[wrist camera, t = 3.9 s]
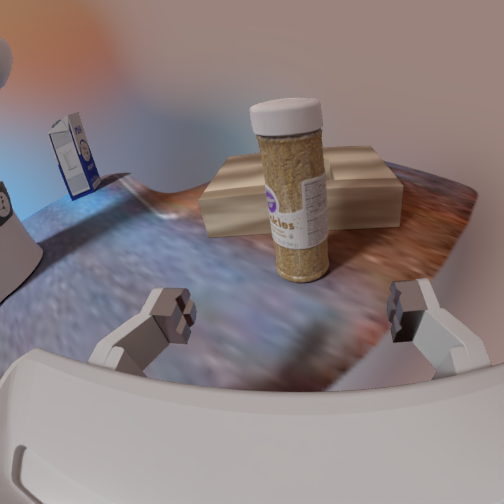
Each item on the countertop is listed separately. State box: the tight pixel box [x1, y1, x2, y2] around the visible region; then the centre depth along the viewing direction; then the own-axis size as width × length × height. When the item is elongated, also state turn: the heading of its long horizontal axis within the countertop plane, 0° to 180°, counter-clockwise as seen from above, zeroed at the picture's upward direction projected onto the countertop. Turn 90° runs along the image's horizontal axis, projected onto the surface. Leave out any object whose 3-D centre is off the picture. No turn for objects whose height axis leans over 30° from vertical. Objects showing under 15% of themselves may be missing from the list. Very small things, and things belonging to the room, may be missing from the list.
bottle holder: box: [198, 146, 403, 238], centre depth 32 cm, size 14×20×4 cm
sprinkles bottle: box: [250, 98, 329, 283], centre depth 20 cm, size 5×5×14 cm
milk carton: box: [48, 113, 102, 201], centre depth 54 cm, size 7×7×20 cm
